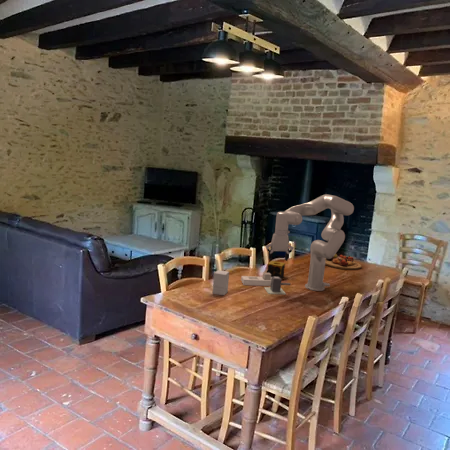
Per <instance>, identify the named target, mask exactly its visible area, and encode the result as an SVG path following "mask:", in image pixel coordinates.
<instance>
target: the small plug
mask: <svg viewBox="0 0 450 450" xmlns="http://www.w3.org/2000/svg"><path fill="white" fill-rule="evenodd" d="M262 277H263V279H264V280H271V274H270V273H267V272H263V275H262Z"/></svg>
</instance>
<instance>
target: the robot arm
mask: <svg viewBox="0 0 450 450" xmlns="http://www.w3.org/2000/svg"><path fill="white" fill-rule="evenodd" d="M326 209H329V210H330V211H331V216H330V220H329V221H328V222H327V224H326V226H325V227H324V228H323V230H322V231H321V235H320V236H321V238H322V239H323V240H320V239H316V240H315V239H314V240H313V241H312V242H311V244H310V249H309V250H310V260H309V268H308V269H309V270H308V276H307V278H308V279H307V283H305V285H304V287H305V288H306V289H307V290H309V291H315V292H322V291H325V287H331V284H330V283H327V282H324V279H325V278H324V276H325V268H326V265H325V258H327V259H330V258H332V257H333V256H334V255H335V254H337V252H338V251H339V249H340V248H341V246H342V245H343V244H344V241H345V239H346V234H345V232H344V230H342V227H343V225H344V219H345V217H344V216H350V215H352V214H353V213H354V210H355V206H354V205H353V203H351V202H350V201H348V200H345V199H344V198H342V197H339V196H337V195H332V194H327V193H325V194H323V195H320V196H318V197H316V198H315V199H312V200H311V201H309V202H305V203H302V204H297V205H294V206H291V207H289V208H288V209H286V210H284V211H278V212H276V217H275V229H274V233H273V234H272V238H271V242H270V243H269V244H267V245H265V248H266V251H267V252H268V253H269V255H268V259H269V260H270V261H273V256H274V255H273V253H274V252H285V255H284V260H285V261H286V262H288V260H289V257H290V254H291V253H292V252H293V250H294V248H295V247H293V246H292V245H291V244H290V243H289V234H291V233H290V232H291V231H290V230H289V225H292V226H298V225H300V224H302V222H303V217H304V216H314V215H315V216H316V215H317V214H318V213H321V212H323V211H325V210H326ZM289 248H290V249H289Z"/></svg>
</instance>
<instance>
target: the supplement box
mask: <svg viewBox="0 0 450 450" xmlns="http://www.w3.org/2000/svg"><path fill="white" fill-rule="evenodd" d="M229 279H230V271H226V270H219V269H218V270H216V271H214V273H213V281H212V294H214V295H220V296H225V295H226V294H227V293H228V292H229V290H228V289H229Z"/></svg>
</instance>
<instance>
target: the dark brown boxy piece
mask: <svg viewBox="0 0 450 450" xmlns="http://www.w3.org/2000/svg"><path fill="white" fill-rule="evenodd" d="M285 267H286V262H281V261H275V260H270V261H269V262H268V263H267V270H266V273H270V274H271V277H280V278H281V279H283V278H284V277H285V276H284V275H285Z"/></svg>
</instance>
